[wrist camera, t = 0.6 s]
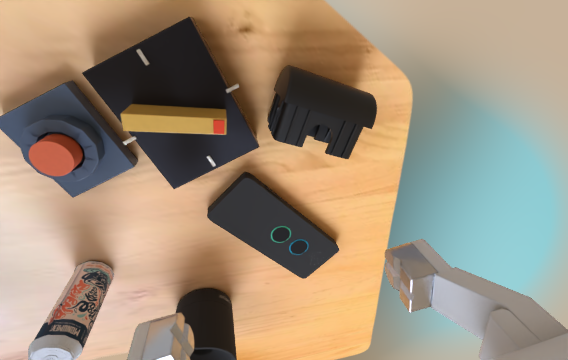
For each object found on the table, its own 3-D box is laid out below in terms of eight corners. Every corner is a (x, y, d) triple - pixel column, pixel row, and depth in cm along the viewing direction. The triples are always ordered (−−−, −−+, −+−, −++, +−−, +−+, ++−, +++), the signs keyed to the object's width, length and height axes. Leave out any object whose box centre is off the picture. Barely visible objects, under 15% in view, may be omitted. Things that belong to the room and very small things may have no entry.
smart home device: (303, 281, 46) (204, 218, 37) (301, 273, 47) (204, 211, 38) (342, 249, 44) (248, 175, 35) (338, 242, 46) (246, 169, 36)
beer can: (122, 271, 40) (89, 356, 30) (98, 288, 41) (57, 378, 30) (92, 252, 38) (44, 338, 27) (67, 272, 38) (11, 362, 28)
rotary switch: (84, 73, 28) (70, 78, 25) (202, 12, 28) (200, 10, 25) (169, 181, 35) (165, 194, 32) (264, 134, 35) (268, 143, 32)
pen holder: (234, 320, 50) (237, 381, 41) (178, 327, 48) (168, 394, 39) (233, 282, 45) (236, 342, 37) (171, 288, 43) (158, 354, 35)
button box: (3, 116, 28) (-23, 126, 25) (72, 80, 28) (54, 86, 25) (79, 190, 33) (65, 206, 30) (138, 160, 33) (130, 173, 30)
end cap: (358, 87, 34) (386, 100, 28) (335, 141, 37) (356, 163, 31) (281, 60, 31) (295, 68, 25) (262, 121, 34) (271, 141, 28)
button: (31, 143, 27) (18, 152, 25) (63, 127, 27) (52, 134, 25) (61, 173, 29) (50, 182, 27) (91, 157, 29) (83, 166, 27)
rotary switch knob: (133, 120, 28) (122, 132, 25) (131, 103, 27) (119, 114, 24) (225, 124, 30) (226, 135, 27) (226, 109, 29) (226, 119, 26)
